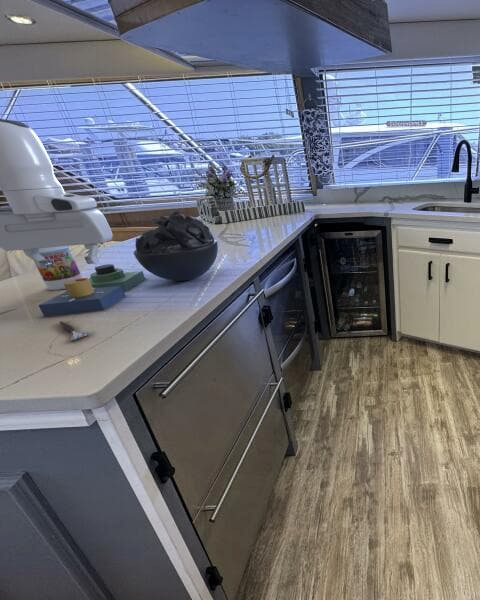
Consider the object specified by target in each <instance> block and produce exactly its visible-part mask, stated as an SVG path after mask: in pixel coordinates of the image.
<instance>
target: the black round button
mask: <svg viewBox="0 0 480 600" xmlns="http://www.w3.org/2000/svg"><path fill="white" fill-rule="evenodd" d="M115 268H116V267H115V264H111V263H110V264H109V263H108V264H102V265H97V266H95V267H94V270H95V272H97V275H103V274H109V273H113V272H116V270H115Z"/></svg>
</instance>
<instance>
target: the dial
mask: <svg viewBox="0 0 480 600" xmlns="http://www.w3.org/2000/svg"><path fill="white" fill-rule="evenodd" d="M63 284H64V286H65V290H66V291H67V292H68V294H69V296H70V298H78V297H84V296H87V295H90V294H92V293H94V290H93V287H92V285H91V283H90V281H89V277H82V278H78V279H73V280H69V281H66V282H64V283H63Z"/></svg>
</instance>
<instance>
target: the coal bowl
mask: <svg viewBox="0 0 480 600" xmlns="http://www.w3.org/2000/svg"><path fill="white" fill-rule="evenodd" d="M152 221H153V222H154V223H155V224H157V227H156V228H155V229H150V230H147V231H145V232H143V233H142V234H141V236H139V237H136V238H135V250H134V251H133V255H134V258H135V259H136V261H137V262H138V263H139V264H140V265H141V266H142V267H143V268H144V269H145V270H146V271H148V272H149V273H150V274H152V275H154V276H156V277H158V278H161V279H164V280H168V281H173V282H174V281H176V282H182V281H189V280H193V279H196V278H200V277H201V276H202V275H204V274H206V273H207V272H208V271H209V270H210V269H211V267H212V266H213V265H214V263H215V262H216V260H217V257H218V253H219V251H218V250H219V246H218V245H219V244H218V241H217V239H215V238H214V236H213V234H212V232H211V231H210V228H209V226H207V225H206V224H204V222H203V220H202V219H200V218H197V217H196V218H195V217H194V216H191V215H188V214H186V215H184V214H181V211H179V210H176V211H173V212H172V213H170V214H169V215H168V216H166V215H160V216H159V217H153V218H152Z"/></svg>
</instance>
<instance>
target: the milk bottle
mask: <svg viewBox="0 0 480 600" xmlns="http://www.w3.org/2000/svg"><path fill="white" fill-rule="evenodd" d="M39 250H40V252H38V253H39V254H40V255H41V256H42V257H44V258H45V259H50V261H51V262H50V263H52V267H49V268H39V267H38V265H37V263H36V261H34V260H32V261H33V263H34V265H35V267H36V269H37V270H38V271H37V272H38V273H39V275H40V277H41V278H42V281H43V282H44V284H45V287H46V288H47V289H48V290H49V291H58V290H64V289H65V290H66V288H65V286H64V284H63V283H64V282H66V281H69V280H73V279H78V278H83V276H82V273H81V271H80V269H79V266H78V265H77V263H76V262H77V261H76V260H75V258H74V256H73V253H72V252H71V250H70V248H69V246H61V247H49V248H39Z"/></svg>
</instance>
